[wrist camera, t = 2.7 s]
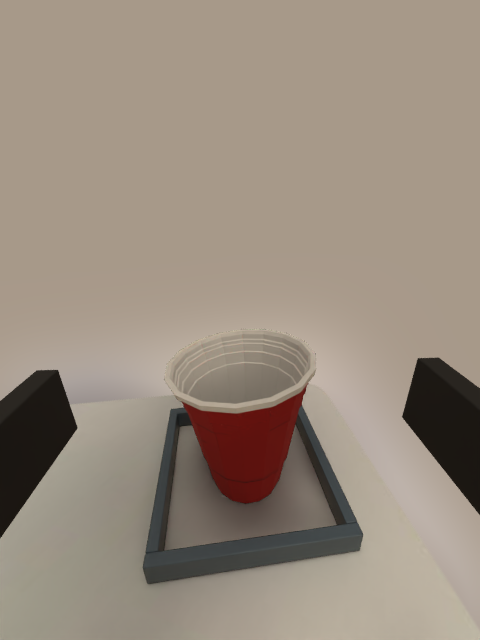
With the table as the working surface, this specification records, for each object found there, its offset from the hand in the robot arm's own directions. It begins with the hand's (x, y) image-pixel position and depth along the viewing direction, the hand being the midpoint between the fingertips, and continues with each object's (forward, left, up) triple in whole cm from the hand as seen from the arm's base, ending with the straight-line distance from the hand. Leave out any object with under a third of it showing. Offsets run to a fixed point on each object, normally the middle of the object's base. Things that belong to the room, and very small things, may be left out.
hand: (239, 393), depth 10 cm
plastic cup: (+5, -7, -16) cm, 18 cm away
